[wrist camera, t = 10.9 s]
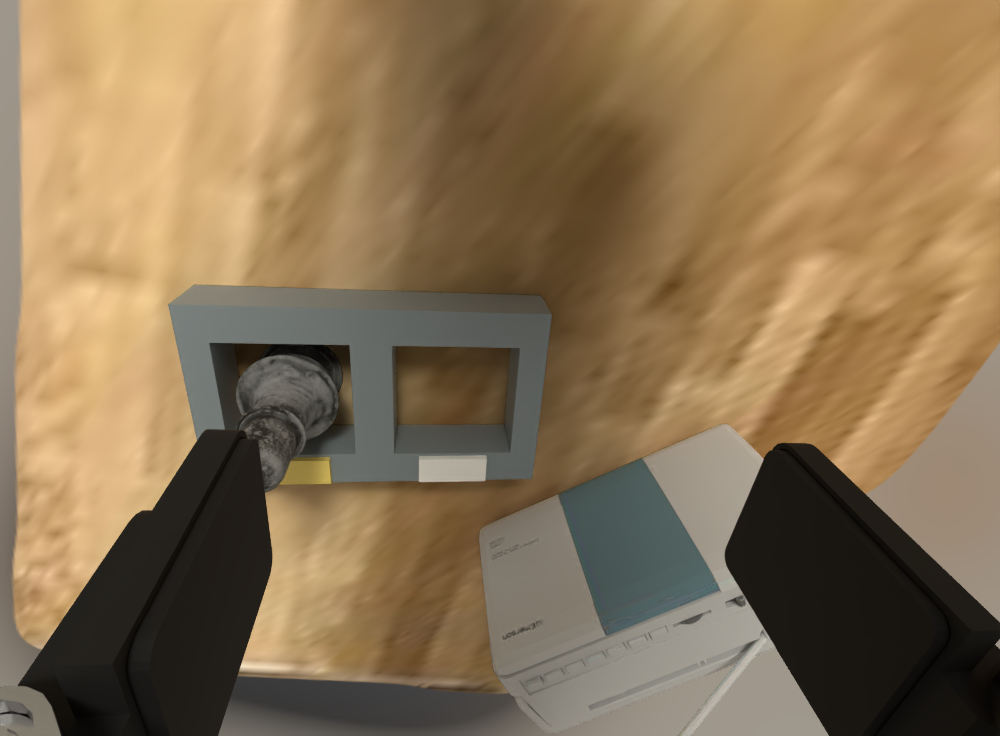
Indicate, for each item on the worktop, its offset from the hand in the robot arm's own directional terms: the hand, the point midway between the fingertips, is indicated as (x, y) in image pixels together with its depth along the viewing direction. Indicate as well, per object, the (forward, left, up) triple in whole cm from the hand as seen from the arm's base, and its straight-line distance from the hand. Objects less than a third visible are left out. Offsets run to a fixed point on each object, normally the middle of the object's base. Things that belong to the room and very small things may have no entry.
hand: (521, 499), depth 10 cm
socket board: (+10, -5, -25) cm, 27 cm away
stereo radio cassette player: (+21, +13, -25) cm, 35 cm away
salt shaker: (+10, -10, -25) cm, 29 cm away
